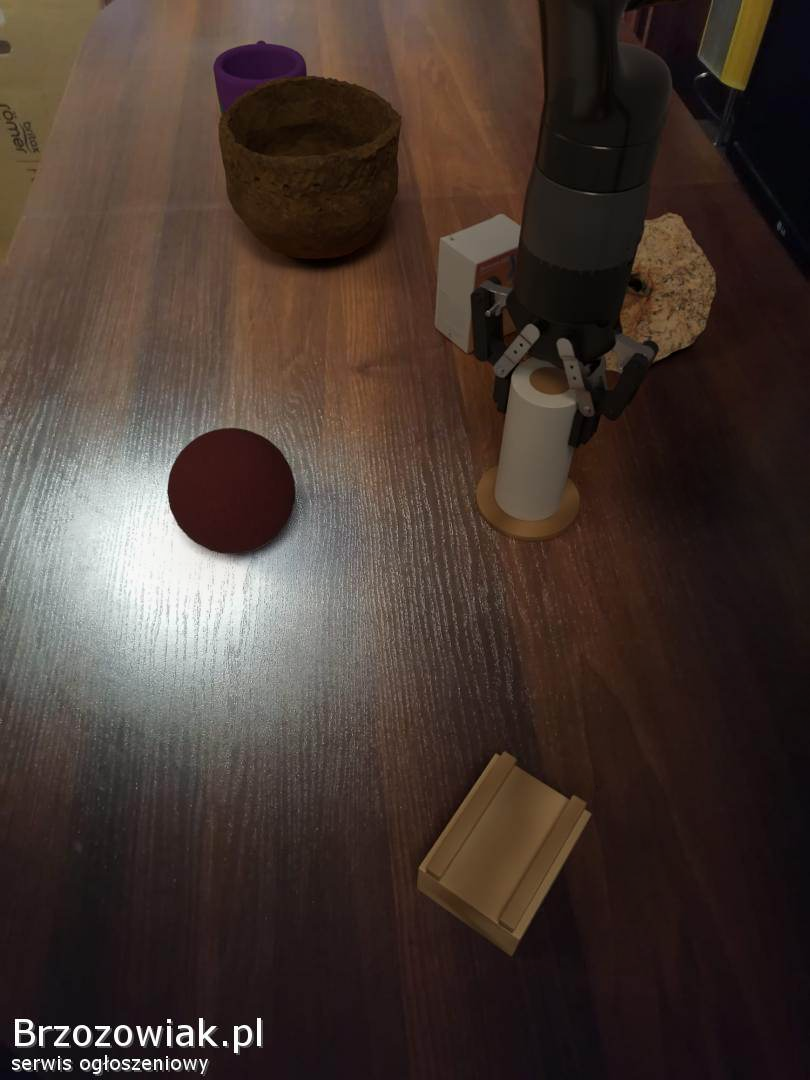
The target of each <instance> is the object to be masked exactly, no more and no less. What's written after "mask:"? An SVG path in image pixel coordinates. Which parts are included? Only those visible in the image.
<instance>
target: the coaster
mask: <svg viewBox="0 0 810 1080" xmlns="http://www.w3.org/2000/svg"><path fill="white" fill-rule="evenodd" d="M498 466H499V463H498V464H496V465H494V466H491V468H489V469H488V470H486V472H485V473H484V474H483V475H482V476H481V477H480V479H479V481H478V483H477V485H476V490H475V504H476V509H477V511H478V513H479V515H480V517H481V519H483V521H484V522H485V523H486V524H487V525H488V526H489V527H490V528H491V529H493V530H494V531H496V532H497V533H499V534H501V535H503V536H505V537H508V538H511V539H514V540H518V541H525V542H540V541H541V542H542V541H547V540H550V539H554V538H557V537H558V536H560V535H562V534H564V533H565V532H567V531H568V530H569V529H570V528H571V527H572V526H573V525H574V523H575V521H576V520H577V518H578V514H579V511H580V507H581V497H580V493H579V491H578V488H577V486H576V485H575V483H574V482H573V480H572V479H571V478H570V477H569V476H568V477H567V481H566V485H565V489H564V493H563V497H562V501H561V505H560V507H559V509H558V510H557V511H556V512H555V513H554V514H553V515H552V516H550V517H548V518H546V519H543V520H539V521H524V520H519V519H516V518H514V517H512V516H510V515H508V514H507V513H505V512H504V511H503V510H502V509H501V508H500V507H499V505H498V504H497V501H496V499H495V486H496V479H497V472H498Z"/></svg>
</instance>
